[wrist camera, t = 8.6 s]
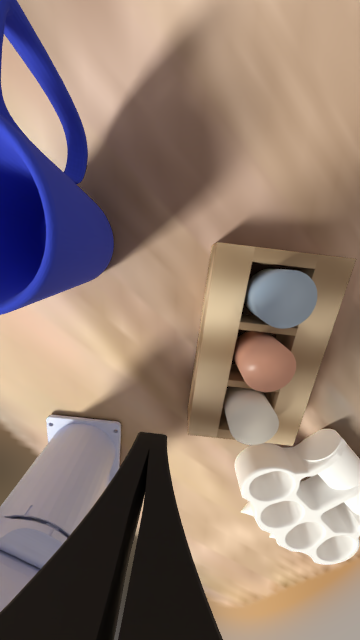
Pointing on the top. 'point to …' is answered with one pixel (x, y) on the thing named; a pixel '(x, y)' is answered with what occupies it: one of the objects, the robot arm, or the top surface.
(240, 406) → the pale grey rounded piece
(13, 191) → the mug
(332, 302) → the wooden compartment tray
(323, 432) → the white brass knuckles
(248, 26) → the top surface
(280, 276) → the pale blue rounded lump
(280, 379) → the pink egg
